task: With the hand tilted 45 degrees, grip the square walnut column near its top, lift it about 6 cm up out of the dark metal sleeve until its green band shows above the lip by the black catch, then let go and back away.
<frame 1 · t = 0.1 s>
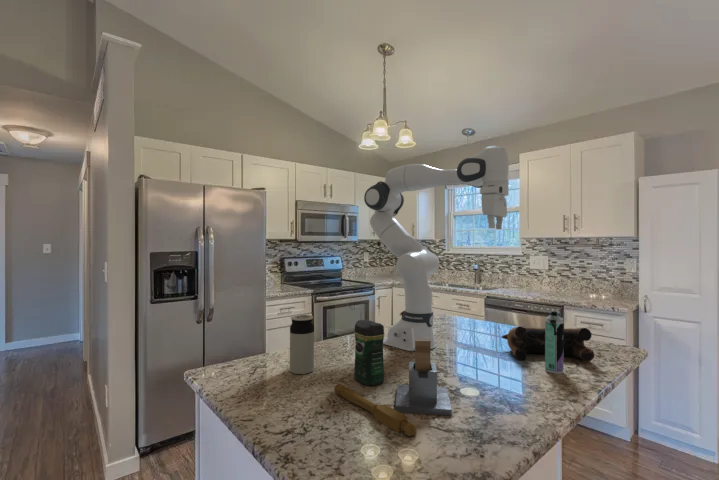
hand: (495, 228, 133), 48 cm above the counter, tool pointing down, fingers open, 8 cm apart
stand: (422, 401, 99), on the counter
coffee jar: (369, 381, 114), on the counter
column: (422, 366, 99), point 9 cm above the counter, slide at 0.0 cm
tap handle: (371, 414, 93), on the counter
travel mug: (301, 371, 122), on the counter
spray can: (554, 371, 122), on the counter
stuffed animal: (544, 353, 143), on the counter
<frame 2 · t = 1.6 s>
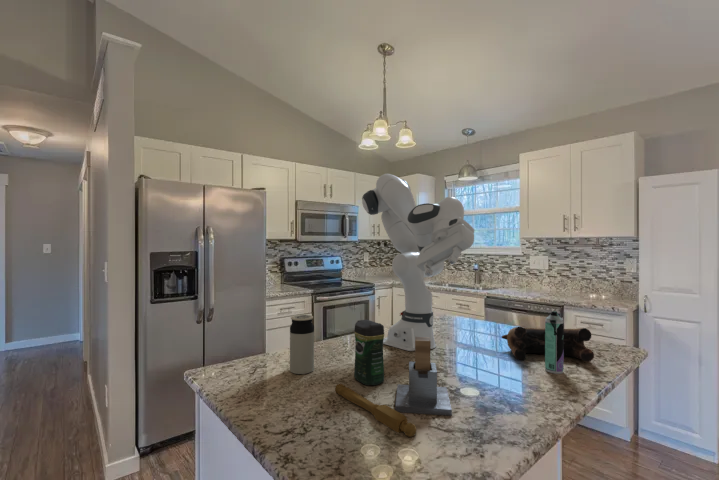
hand: (439, 268, 105), 36 cm above the counter, tool tilted 45°, fingers open, 8 cm apart
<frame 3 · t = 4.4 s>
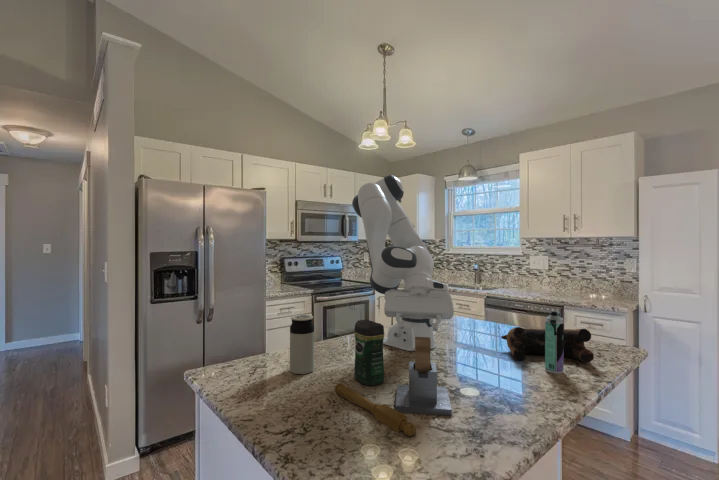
hand: (418, 329, 103), 18 cm above the counter, tool tilted 45°, fingers open, 8 cm apart
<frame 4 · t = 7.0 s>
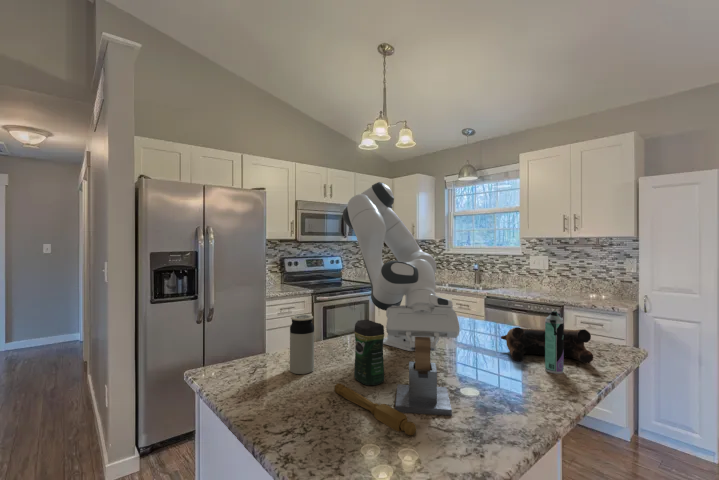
hand: (422, 349, 98), 14 cm above the counter, tool tilted 45°, fingers closed on column, 4 cm apart
column: (422, 366, 99), point 9 cm above the counter, slide at 0.0 cm, touching gripper
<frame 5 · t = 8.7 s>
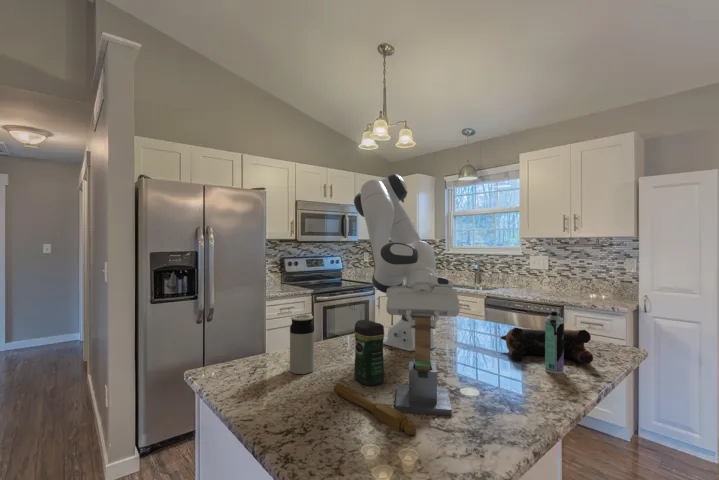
hand: (422, 327, 98), 20 cm above the counter, tool tilted 45°, fingers closed on column, 4 cm apart
column: (422, 345, 99), point 15 cm above the counter, slide at 5.9 cm, touching gripper
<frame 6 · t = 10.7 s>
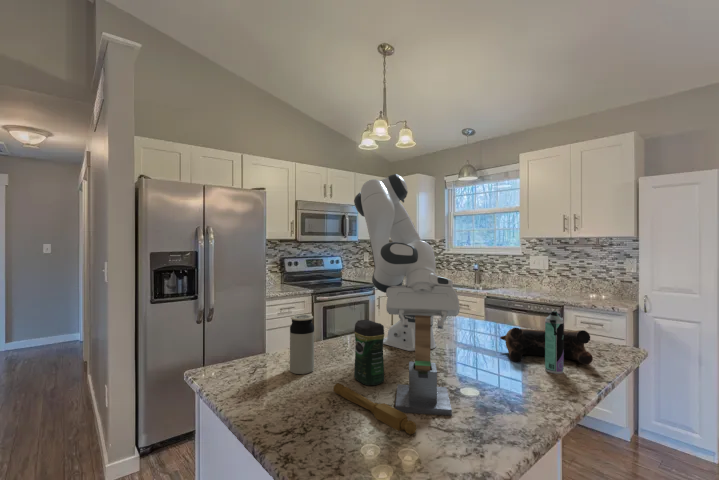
hand: (422, 327, 98), 20 cm above the counter, tool tilted 45°, fingers open, 8 cm apart
column: (422, 345, 99), point 15 cm above the counter, slide at 5.9 cm
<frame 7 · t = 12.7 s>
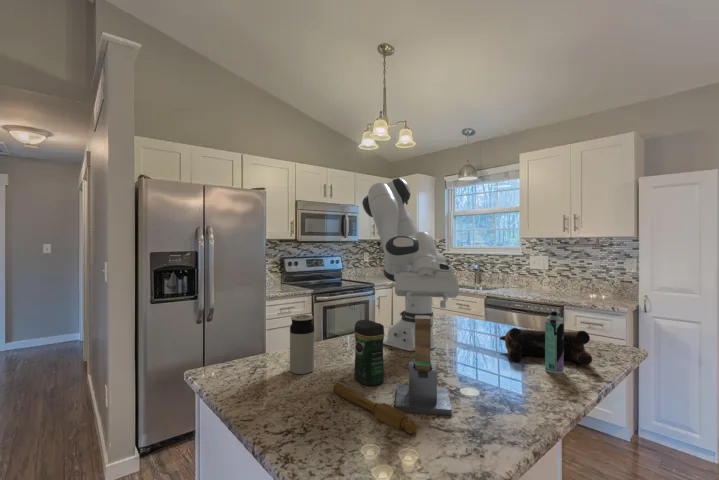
hand: (427, 306, 112), 23 cm above the counter, tool tilted 45°, fingers open, 8 cm apart
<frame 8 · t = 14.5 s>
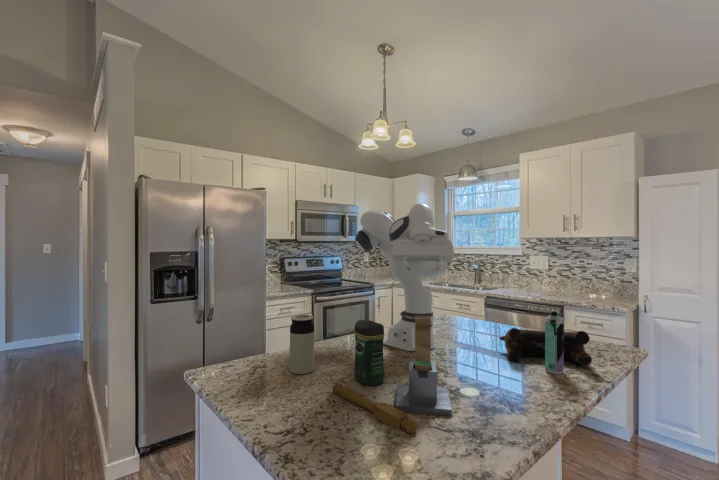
hand: (422, 269, 117), 34 cm above the counter, tool tilted 45°, fingers open, 8 cm apart
at the end: column slide at 5.9 cm; the gripper is holding nothing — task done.
